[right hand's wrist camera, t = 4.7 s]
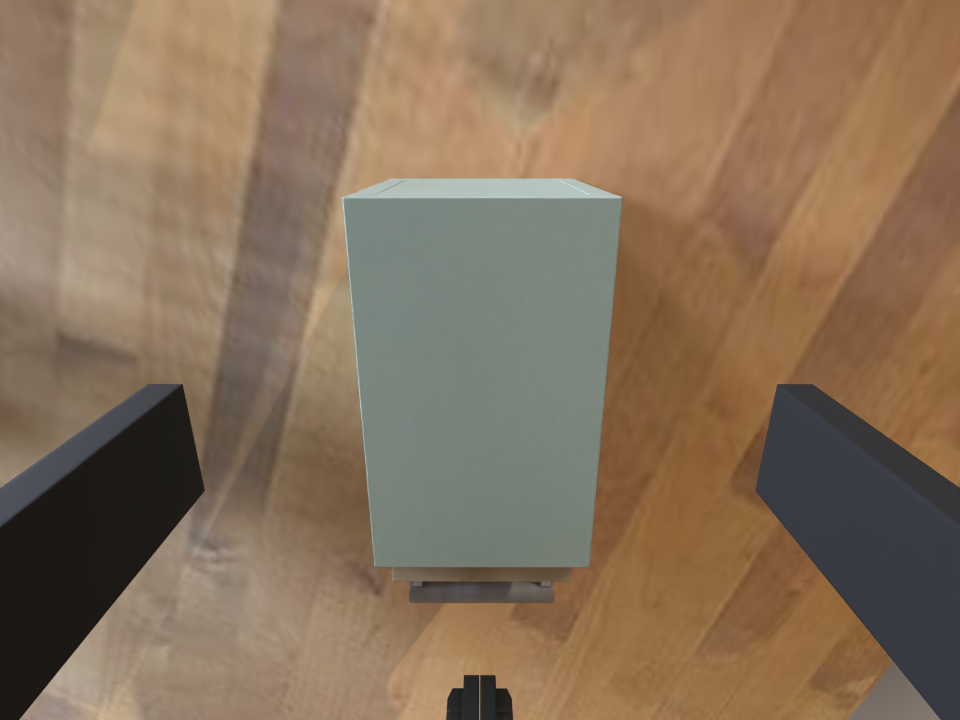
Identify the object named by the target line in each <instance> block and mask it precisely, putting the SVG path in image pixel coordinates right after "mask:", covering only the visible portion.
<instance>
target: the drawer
mask: <svg viewBox="0 0 960 720" xmlns="http://www.w3.org/2000/svg"><path fill="white" fill-rule="evenodd" d="M571 575H572V567H392V578H393V581H411V582H410V588H409V600H410V603H553V602H554V586H553V582H552V581H571Z"/></svg>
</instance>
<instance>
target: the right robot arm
mask: <svg viewBox="0 0 960 720" xmlns="http://www.w3.org/2000/svg"><path fill="white" fill-rule="evenodd" d="M204 491H205V490H204V485H203V480H202V475H201V471H200V466H199V461H198V456H197V451H196V446H195V442H194V437H193V432H192V427H191V422H190V418H189V413H188V408H187V403H186V398H185V393H184V389H183V384H148V385H146V386H145V387H143V388H142V389H140V390H139V391H138V392H136V393H135V394H133V395H132V396H131V397H129V398H128V399H126V400H125V401H123V402H122V403H121V404H119V405H118V406H116V407H115V408H113V409H112V410H111V411H109V412H108V413H106V414H105V415H104V416H102V417H101V418H99V419H98V420H96V421H95V422H94V423H92V424H91V425H89V426H88V427H86V428H85V429H84V430H82V431H81V432H79V433H78V434H76V435H75V436H74V437H72V438H71V439H69V440H68V441H67V442H65V443H64V444H62V445H61V446H59V447H58V448H57V449H55V450H54V451H52V452H51V453H49V454H48V455H47V456H45V457H44V458H42V459H41V460H40V461H38V462H37V463H35V464H34V465H32V466H31V467H30V468H28V469H27V470H25V471H24V472H22V473H21V474H20V475H18V476H17V477H15V478H14V479H13V480H11V481H10V482H8V483H7V484H5V485H4V486H3V487H1V488H0V720H19V719H20V718H21V717H22V716H23V714H24V713H25V712H26V711H27V709H28V708H29V707H30V706H31V704H32V703H33V702H34V701H35V700H36V698H37V697H38V696H39V695H40V693H41V692H42V691H43V690H44V688H45V687H46V686H47V685H48V683H49V682H50V681H51V680H52V679H53V677H54V676H55V675H56V674H57V672H58V671H59V670H60V669H61V667H62V666H63V665H64V664H65V662H66V661H67V660H68V659H69V658H70V656H71V655H72V654H73V653H74V651H75V650H76V649H77V648H78V646H79V645H80V644H81V643H82V641H83V640H84V639H85V638H86V637H87V635H88V634H89V633H90V632H91V630H92V629H93V628H94V627H95V625H96V624H97V623H98V622H99V620H100V619H101V618H102V617H103V616H104V614H105V613H106V612H107V611H108V609H109V608H110V607H111V606H112V604H113V603H114V602H115V601H116V600H117V598H118V597H119V596H120V595H121V593H122V592H123V591H124V590H125V588H126V587H127V586H128V585H129V583H130V582H131V581H132V580H133V579H134V577H135V576H136V575H137V574H138V572H139V571H140V570H141V569H142V567H143V566H144V565H145V564H146V562H147V561H148V560H149V559H150V558H151V556H152V555H153V554H154V553H155V551H156V550H157V549H158V548H159V546H160V545H161V544H162V543H163V541H164V540H165V539H166V538H167V537H168V535H169V534H170V533H171V532H172V530H173V529H174V528H175V527H176V525H177V524H178V523H179V522H180V520H181V519H182V518H183V517H184V516H185V514H186V513H187V512H188V511H189V509H190V508H191V507H192V506H193V504H194V503H195V502H196V501H197V499H198V498H199V497H200V496H201V495H202V493H203V492H204ZM755 491H756V492H757V493H758V495H759V496H760V497H761V498H762V499H763V501H764V502H765V503H766V504H767V506H768V507H769V508H770V509H771V511H772V512H773V513H774V514H775V516H776V517H777V518H778V519H779V520H780V522H781V523H782V524H783V525H784V527H785V528H786V529H787V530H788V532H789V533H790V534H791V535H792V537H793V538H794V539H795V540H796V541H797V543H798V544H799V545H800V546H801V548H802V549H803V550H804V551H805V553H806V554H807V555H808V556H809V558H810V559H811V560H812V561H813V562H814V564H815V565H816V566H817V567H818V569H819V570H820V571H821V572H822V574H823V575H824V576H825V577H826V579H827V580H828V581H829V582H830V583H831V585H832V586H833V587H834V588H835V590H836V591H837V592H838V593H839V595H840V596H841V597H842V598H843V600H844V601H845V602H846V603H847V604H848V606H849V607H850V608H851V609H852V611H853V612H854V613H855V614H856V616H857V617H858V618H859V619H860V620H861V622H862V623H863V624H864V625H865V627H866V628H867V629H868V630H869V632H870V633H871V634H872V635H873V637H874V638H875V639H876V640H877V641H878V643H879V644H880V645H881V646H882V648H883V649H884V650H885V651H886V653H887V654H888V655H889V656H890V658H891V659H892V660H893V661H894V662H895V664H896V665H897V666H898V667H899V669H900V670H901V671H902V672H903V674H904V675H905V676H906V677H907V679H908V680H909V681H910V682H911V683H912V685H913V686H914V687H915V688H916V690H917V691H918V692H919V693H920V695H921V696H922V697H923V698H924V700H925V701H926V702H927V703H928V704H929V706H930V707H931V708H932V709H933V711H934V712H935V713H936V714H937V715H938V717H939V718H940V719H941V720H960V488H959V487H957V486H956V485H955V484H953V483H952V482H950V481H949V480H947V479H946V478H945V477H943V476H942V475H940V474H939V473H938V472H936V471H935V470H933V469H932V468H930V467H929V466H928V465H926V464H925V463H923V462H922V461H920V460H919V459H918V458H916V457H915V456H913V455H912V454H911V453H909V452H908V451H906V450H905V449H903V448H902V447H901V446H899V445H898V444H896V443H895V442H893V441H892V440H891V439H889V438H888V437H886V436H885V435H884V434H882V433H881V432H879V431H878V430H876V429H875V428H874V427H872V426H871V425H869V424H868V423H866V422H865V421H864V420H862V419H861V418H859V417H858V416H856V415H855V414H854V413H852V412H851V411H849V410H848V409H847V408H845V407H844V406H842V405H841V404H839V403H838V402H837V401H835V400H834V399H832V398H831V397H829V396H828V395H827V394H825V393H824V392H822V391H821V390H820V389H818V388H817V387H815V386H814V385H812V384H777V389H776V393H775V398H774V403H773V408H772V413H771V418H770V422H769V427H768V432H767V437H766V442H765V446H764V451H763V456H762V461H761V466H760V471H759V475H758V480H757V485H756V490H755Z"/></svg>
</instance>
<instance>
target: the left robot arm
mask: <svg viewBox="0 0 960 720" xmlns="http://www.w3.org/2000/svg"><path fill="white" fill-rule="evenodd" d="M446 720H479V675H464V688H453V689H452V691H451V693H450V695H449V697H448V701H447V717H446ZM480 720H513V713H512V698H511V696H510V694H509V692H508V690H507V689H496V677H495V675H480Z"/></svg>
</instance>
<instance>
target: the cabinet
mask: <svg viewBox="0 0 960 720" xmlns="http://www.w3.org/2000/svg"><path fill="white" fill-rule="evenodd" d="M342 199H343V211H344V222H345V233H346V245H347V256H348V268H349V279H350V291H351V302H352V314H353V325H354V337H355V348H356V360H357V371H358V382H359V394H360V405H361V417H362V428H363V440H364V451H365V463H366V474H367V486H368V497H369V509H370V520H371V531H372V543H373V554H374V566H375V567H589V565H590V554H591V543H592V532H593V521H594V510H595V499H596V488H597V477H598V466H599V455H600V444H601V432H602V421H603V410H604V399H605V388H606V377H607V366H608V355H609V344H610V333H611V322H612V311H613V300H614V289H615V278H616V267H617V256H618V245H619V234H620V223H621V211H622V200H623V198H622V197H620V196H617V195H614V194H611V193H609V192H606V191H603V190H601V189H598V188H595V187H593V186H590V185H588V184H585V183H582V182H580V181H577V180H575V179H389V180H387V181H384V182H382V183H379V184H377V185H374V186H371V187H369V188H366V189H364V190H361V191H358V192H356V193H353V194H351V195H347V196H345V197H343V198H342Z"/></svg>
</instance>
